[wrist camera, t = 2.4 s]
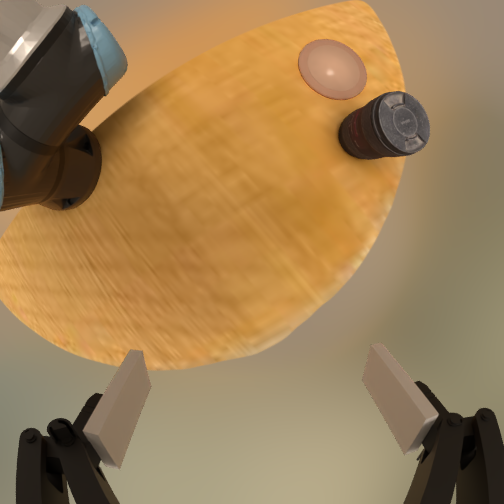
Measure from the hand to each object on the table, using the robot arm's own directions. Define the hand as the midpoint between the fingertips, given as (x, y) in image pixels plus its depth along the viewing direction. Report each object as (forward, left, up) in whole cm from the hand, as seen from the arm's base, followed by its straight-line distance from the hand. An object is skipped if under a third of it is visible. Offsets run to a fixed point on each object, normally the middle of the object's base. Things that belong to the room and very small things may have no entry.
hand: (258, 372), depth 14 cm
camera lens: (+9, +24, -30) cm, 39 cm away
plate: (+1, +34, -29) cm, 45 cm away
